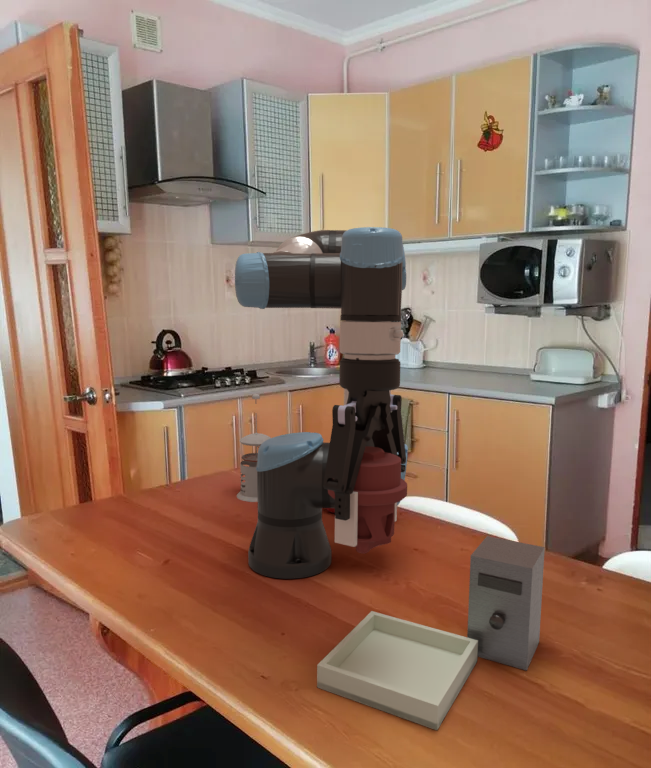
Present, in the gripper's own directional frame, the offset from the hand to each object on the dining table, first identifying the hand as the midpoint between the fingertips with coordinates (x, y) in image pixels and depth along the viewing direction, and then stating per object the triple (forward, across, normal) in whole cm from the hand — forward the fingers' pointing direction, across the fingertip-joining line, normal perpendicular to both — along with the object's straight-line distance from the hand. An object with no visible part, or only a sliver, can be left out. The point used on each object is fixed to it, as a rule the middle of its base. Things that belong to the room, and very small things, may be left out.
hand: (367, 531), depth 80 cm
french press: (+17, +49, +57) cm, 77 cm away
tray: (+19, +1, -4) cm, 19 cm away
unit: (+18, +15, -14) cm, 27 cm away
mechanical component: (+2, 0, 0) cm, 2 cm away
